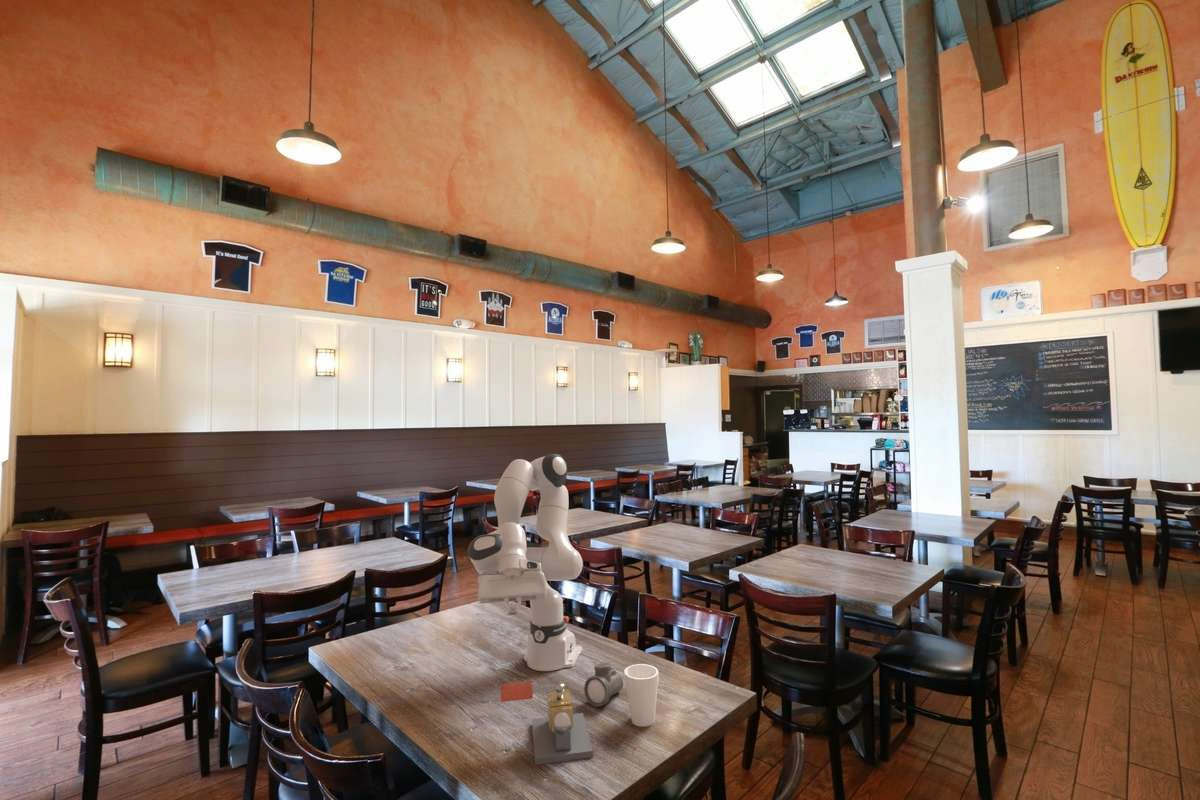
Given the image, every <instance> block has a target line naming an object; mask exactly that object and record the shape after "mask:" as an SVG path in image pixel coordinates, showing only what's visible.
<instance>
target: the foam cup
mask: <svg viewBox="0 0 1200 800" xmlns="http://www.w3.org/2000/svg"><path fill="white" fill-rule="evenodd" d="M623 673H624V674H623V676H624V677H623V678H624V679H623V681H624V683H625V687H626V694H627V700H628V701H627V702H628V707H629V714H630V718H631V719H630V720H631V723H632V724H633V725H635V726H637V727H643V728H644V727H649V726H652V725H654V723H655V718H656V712H657V711H656V708H657V698H658V687H659V682H660V673H659V669H658V668H657V667H655V666H654V665H651V664H646V663H637V664H636V663H635V664H632V665H629V666H626V667H625V668H624V670H623Z"/></svg>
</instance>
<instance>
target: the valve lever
mask: <svg viewBox="0 0 1200 800" xmlns="http://www.w3.org/2000/svg"><path fill="white" fill-rule="evenodd" d="M564 690H566V683H565V682H563V681H556V682H555V683H546V684H538V685H537V684H536V685H533V680H531V681H520V682H512V683H501V684H500V702H502V703H505V702H512V701H513V702H514V701H523V700H532V699H533V697H534V696H533V694H542V693H548V692H551V691H557V692H561V691H564Z"/></svg>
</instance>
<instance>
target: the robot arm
mask: <svg viewBox="0 0 1200 800" xmlns="http://www.w3.org/2000/svg"><path fill="white" fill-rule="evenodd" d="M567 477H568V465H567V462H566V460H565V459H564V457H563V456H562V455H560V454H558V453H551V454H547V455H544V456H542V457H541V456H540V457H538V458H535V459H534V460H532V461H528V460H526V459H521V458H517V459H514V460H512V461H511V462H510V463H509V464H508V466H507V467H506V468H505V470H504V472H503V473H502V476H501V477H500V479H499V481H498V483H497V486H496V488H495V491H494V496H493V502H494V506H495V509H496V516H497V529H496V530H494V531H492V532H490V533H487V534H481V535H478V536H476V537H474V539H473V540H471V542H469V545H468V547H467V555H468V557H469V559H470V561H471V563H472V565H473V566H474V568H475V569H476V572H477V585H478V590H477V601H478V602H479V603H480V604H490V603H491V604H492V603H494V604H495V603H503V606H504V607H505V609H506V610H507V616H516V615H518V613H519V611H518V610H519V609H520V607H521V605H522V602H523V601H529V605H530V618H531V619H530V622H529V631H530V632H529V633H530V634H529V635H528V636H527V642H526V654H525V655H524V656H523V660H524V661H525V662H526V665H527V667H529V668H530V669H532V670H534V671H539V672H553V671H557V670H560V669H565V668H572V667H574V666H575V665H576V662H577V660H578V659H577V658H579V657H580V655H581V653H582V652H583V647H582V646H581V645H578V644H577V643H576V642H577V641H576V636H575V634H574V632H572V631H570V629H568V628H567V625H566V623H568V622H569V620H570V618H569V616H566V615H564V603H563V602H564V600H563V597H562V595H561V593H559V591H557V590H555V589H554V588H552V587H551V586H550V585H549V583H548V581H549V582H550V581H554V582H555V581H556V582H561V581H562V582H563V581H564V582H565V581H570V580H575V579H577V578H578V577H579V576H580V574H581V573H582V570H583V566H584V564H583V563H584V562H583V558H582V555H581V554H580V552H579V551H578V550H577V549H575V548H574V547H573V545H572V544H571V542H570V540H569V537H568V533H567V531H568V529H567V528H568V516H569V507H570V506H569V504H570V503H569V497H570V496H569V491H568V489H567V487H566V485H565V484H566V481H567ZM536 491H539V494H540V500H539V504H538V510H537V514H536V515H537V516H536V521H535V531H536V533H537V535H538V537H540V538H542V539H543V540H545V541H547V542H548V547H531V546H530V547H527V536H526V535H527V534H526V532H525V529H524V528H523V527H522V525H520V524H519V523H520V519H521V516H522V513H523V509H524V507H525V503H526V501H527V498H528V495H529V493H533V492H536ZM510 602H516V605H514V606H510ZM581 651H582V652H581ZM579 654H580V655H579ZM578 656H579V657H578Z"/></svg>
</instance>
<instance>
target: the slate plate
mask: <svg viewBox="0 0 1200 800" xmlns="http://www.w3.org/2000/svg"><path fill="white" fill-rule="evenodd" d="M531 723H532V724H531V726H532V740H533V741H532V743H533V752H534V753H533V755H534V766H536V765H537V766H538V765H544V764H552V763H559V762H566V761H567V762H568V761H575V760H581V759H590V758H594V754H593V752H594V750H593V747H592V743H591V739H590V735H589V731H588V727H587V724H586V719H585V715H584V712H581V713H580V712H579V713H573V727H572V728H573V730H570V734H571V751H563V752H556V747H555V732H552V730H550V729H549V721H548V716H547V717H538V718H537V717H536V718H532V719H531Z"/></svg>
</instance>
